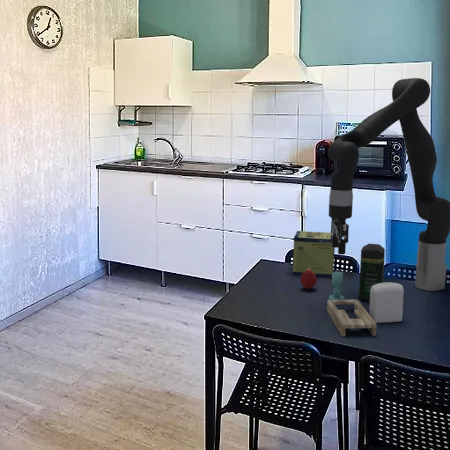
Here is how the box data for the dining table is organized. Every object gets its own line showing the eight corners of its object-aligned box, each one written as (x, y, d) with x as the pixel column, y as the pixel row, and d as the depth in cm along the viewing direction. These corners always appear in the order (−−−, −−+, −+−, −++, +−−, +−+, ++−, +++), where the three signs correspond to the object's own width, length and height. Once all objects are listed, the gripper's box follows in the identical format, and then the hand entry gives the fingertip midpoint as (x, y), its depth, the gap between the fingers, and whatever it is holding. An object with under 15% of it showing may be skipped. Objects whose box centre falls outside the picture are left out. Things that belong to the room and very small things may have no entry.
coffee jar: (381, 303, 184) (384, 250, 180) (357, 300, 187) (359, 248, 183) (383, 293, 193) (386, 242, 189) (360, 291, 196) (362, 241, 192)
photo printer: (371, 324, 168) (373, 286, 165) (366, 318, 172) (368, 281, 169) (404, 322, 169) (406, 284, 166) (398, 317, 173) (400, 279, 170)
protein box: (332, 278, 210) (334, 239, 207) (292, 275, 214) (293, 236, 210) (334, 270, 220) (335, 232, 217) (295, 267, 224) (296, 230, 220)
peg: (342, 298, 189) (343, 270, 187) (346, 303, 184) (347, 275, 182) (327, 298, 189) (328, 270, 187) (330, 304, 184) (331, 275, 182)
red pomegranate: (317, 292, 195) (318, 270, 194) (301, 292, 196) (301, 270, 194) (315, 286, 201) (315, 265, 199) (299, 286, 201) (299, 265, 199)
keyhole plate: (357, 309, 179) (357, 299, 178) (375, 335, 160) (376, 324, 159) (327, 310, 179) (327, 300, 178) (341, 336, 159) (342, 325, 159)
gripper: (358, 207, 172) (355, 256, 176) (346, 198, 186) (344, 245, 190) (334, 207, 172) (332, 256, 176) (324, 198, 186) (322, 245, 190)
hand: (338, 250), depth 183 cm, fingers open, 8 cm apart
